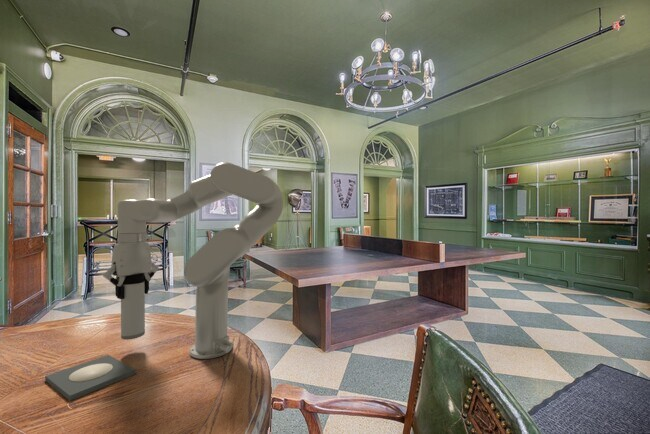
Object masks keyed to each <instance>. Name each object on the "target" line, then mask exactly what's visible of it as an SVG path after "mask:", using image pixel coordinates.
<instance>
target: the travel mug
mask: <svg viewBox="0 0 650 434" xmlns="http://www.w3.org/2000/svg"><path fill="white" fill-rule="evenodd" d="M144 283H145V281H144V273H143V274H138V275H132V276H126V277H125V279H124V281H123V284H122V286H124V299H120V332H121V333H120V338H121V339H122V340H128V341H129V340H135V339H138V338H141V337H143V336H145V334H146V333H145V332H146V329H145V328H146V323H145V322H146V316H145V315H146V314H145V313H146V312H145V311H146V307H145V306H146V305H145V304H146V303H145V302H146V301H145V299H146V298H145V297H146V296H145V295H146V294H145V284H144Z"/></svg>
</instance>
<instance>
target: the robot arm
mask: <svg viewBox="0 0 650 434" xmlns="http://www.w3.org/2000/svg"><path fill="white" fill-rule="evenodd" d="M233 195H234V196H236V197H238V198H241V199H245V200H247V201H250V202H252V203H255V204H256V206H254V208H253V209H252V210H250V211H249V212H248V213H246V215H245V216H244V217H243V218H242V219H240V221H239V222H237V223H236V224H235V225H234V226H232V227H227V228H224V229H221V230H220V231H217V233H215V234H214V235H213V236H211V238H210V239H208V240H207V242H205V243H204V244H203V245H202V246H201V247H200V248H199V249H198V250H197V251H196V252H195V253H194V254H193V255H192V256H190V258H189V259H188V260H187V261H186V263H185V265H184V271H183V275H184V278H185V280H186V282H187V283H189V284H190V285H191V286H195V287H196V292H195V322H194V323H195V327H194V328H195V333H194V334H195V336H194V337H195V338H194V340H195V342H194V344H193V345H192V346H191V347H190V348H189V355H190V356H191V357H192V358H194V359H197V360H198V359H200V360H207V359H208V360H210V359H214V358H218V357H221V356H225V355H227V354H228V353H230V351H231V350H232V349H233V348H234V343H233V342H232V341H230V336H229V335H228V318H229V317H228V314H229V313H228V309H229V308H228V307H229V305H228V303H229V301H228V300H229V279H230V272H231V265H233V264H234V263H235V262H236V261H237V260H238V259H239V258H242V257H243V256H245V255H246V254H247V253H248V252H249V251H250V250H251V248H253V247H254V246H255V245H256V244H257V243H258V242H259V240H261V239H262V238H263V237H264V236H265V234H267V233H268V232H269V231H270V230H271V229H272V227H274V226H275V224H276V223H277V222H278V220H279V219H280V217H281V215H282V212H283V208H284V198H283V195H282V191H281V189H280V187H279V186H278V184H277V183H276V182H275V181H274V180H273V179H271V178H270V177H268V176H267V175H264V174H262V173H258V172H256V171H254V170H250V169H247V168H244V167H242V166H239V165H237V164H234V163H231V162H228V161H227V162H225V161H223V162H219V163H217V164H216V165H214V166H213V168H212V169H211V171H210V174H208V175H205V176H203V177H200V178H198V179H196V180H193V181H191V182H190V184H189V187H188V189H187V190H186V191H185V192H183V193H181V194H179V195H177V196H174V197H171V198H169V199H160V198H143V199H122V200H119V201H118V203H117V243H115V244H114V246H113V250H112V255H111V263H110V264H111V267H110V268H108V269H107V271H106V272H104V274H103V275H102V277H103V278H104V279H106V280H107V281H108V282H110V283H111V284H112V285H113V286H115V297H116V298H117V299H119V300H121V299H124V286H122V284H123V281H124V279H125V277H126V276H132V275H138V274H143V273H144V281H145V283H144V284H145V295H147V294H149V291H150V281H151V280H152V278H153V277H154V275H155V273H157V272H158V271H159V269H160V267H158V266H157V265H156V264H155V263H153V261H152V256H151V255H152V254H151V247H150V244H149V242H147V241H148V239H151V234H148V233H147V223H150V224H151V223H153V224H154V223H155V224H156V223H157V224H158V223H159V224H160V223H170V222H174V221H177V220H179V219H182V218H184V217H187V216H189V215H191V214H193V213H195V212H196V211H199V210H200V209H202V208H204V207H205V206H208V205H210V204H213V203H215V202H217V201H219V200H223V199H224V198H227V197H230V196H233ZM114 276H115V277H114Z"/></svg>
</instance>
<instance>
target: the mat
mask: <svg viewBox="0 0 650 434" xmlns="http://www.w3.org/2000/svg"><path fill="white" fill-rule="evenodd" d="M136 372H137V369H136V368H134V367H132V366H131V365H128V364H126V363H125V362H123V361H121V360H119V359H118V358H115V357H113V356H112V355H110V354H107V355H104V356H101V357H97V358H95V359H92V360H89V361H86V362H82V363H79V364H77V365H74V366H71V367H68V368H65V369H64V368H63V370H62V369H61V370H59V371H56V372H52V373H50V374H46V375H45V378H44V379H45V380H44V381H45V382H46V383H48V385H50V386H51V387H52V388H54V389H55V390H56V391H57V392H58V393H59V394H60V395H62V396H63V397H64V398H65V399H67V400H68V401H69V402H71V401H73V400H76V399H78V398H81V397H83V396H85V395H88V394H90V393H93V392H96V391H97V390H98V391H99V390H100V389H102V388H105V387H108V386H109V385H113V384H114V383H117V382H119V381H122V380H124V379H126V378H129V377H132V376H133V375H136V374H137V373H136Z"/></svg>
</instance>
